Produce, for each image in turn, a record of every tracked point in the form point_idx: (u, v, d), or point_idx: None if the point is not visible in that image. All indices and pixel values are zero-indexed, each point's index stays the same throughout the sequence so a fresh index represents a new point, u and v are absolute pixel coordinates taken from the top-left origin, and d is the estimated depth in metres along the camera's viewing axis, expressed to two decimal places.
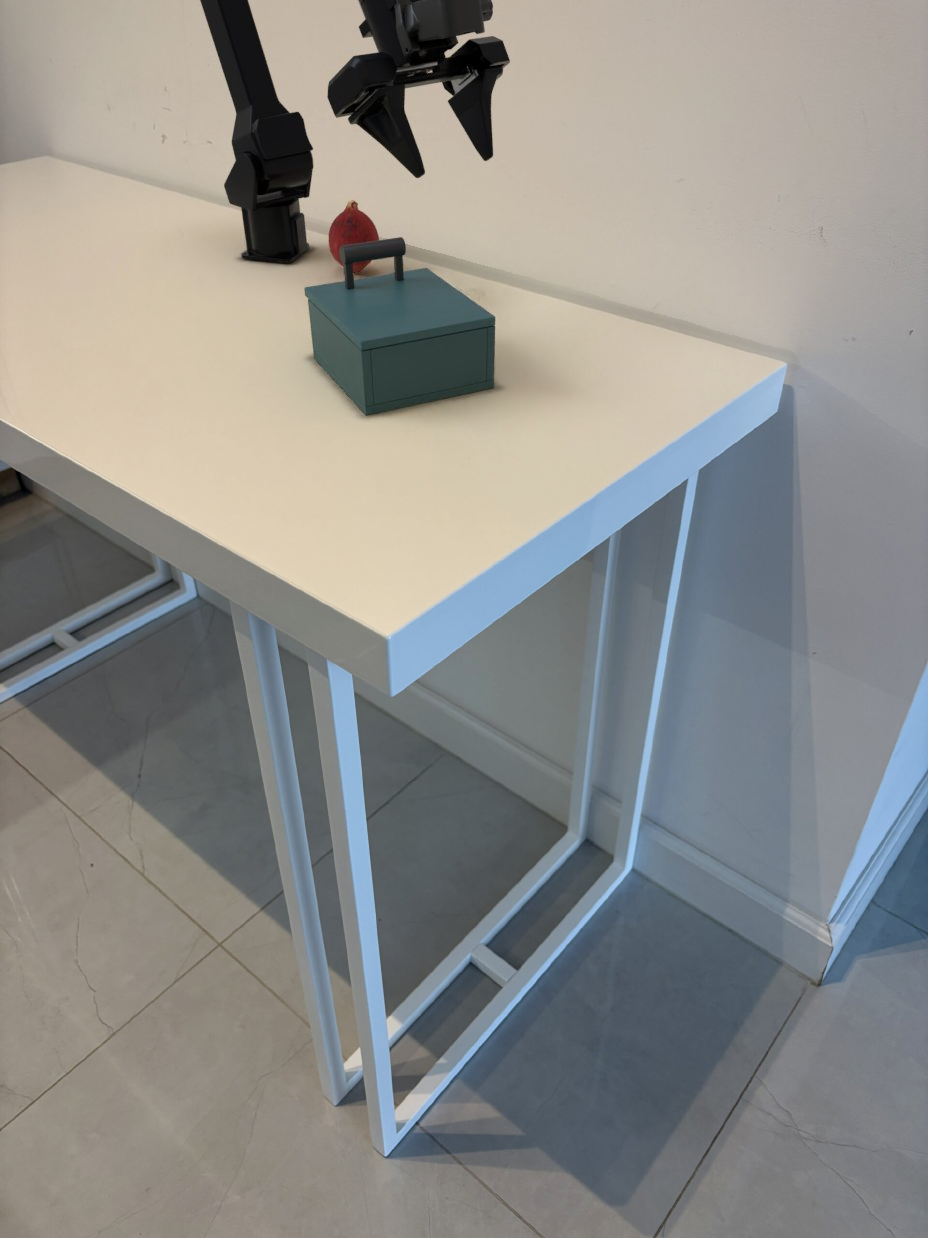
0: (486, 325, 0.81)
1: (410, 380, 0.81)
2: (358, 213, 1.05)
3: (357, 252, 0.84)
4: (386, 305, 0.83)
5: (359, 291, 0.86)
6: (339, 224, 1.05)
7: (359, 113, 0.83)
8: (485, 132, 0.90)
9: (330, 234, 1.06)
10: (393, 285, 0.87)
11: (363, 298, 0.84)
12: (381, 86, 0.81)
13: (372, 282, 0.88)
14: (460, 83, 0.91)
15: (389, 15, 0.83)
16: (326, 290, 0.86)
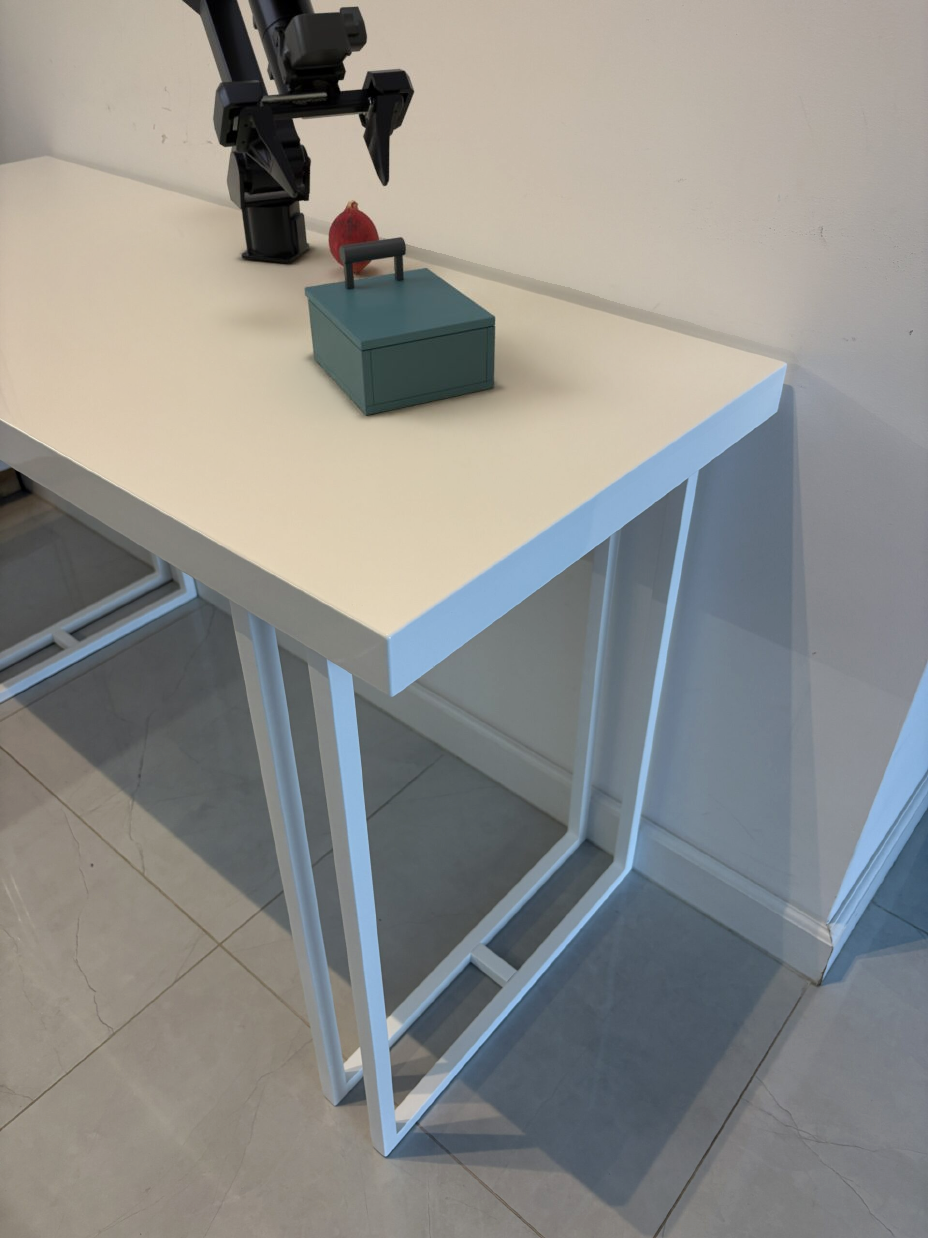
0: (486, 325, 0.81)
1: (410, 380, 0.81)
2: (358, 213, 1.05)
3: (357, 252, 0.84)
4: (386, 305, 0.83)
5: (359, 291, 0.86)
6: (340, 224, 1.05)
7: (237, 138, 0.87)
8: (380, 157, 0.89)
9: (330, 234, 1.06)
10: (393, 285, 0.87)
11: (363, 298, 0.84)
12: None
13: (372, 282, 0.88)
14: (368, 116, 0.92)
15: (276, 51, 0.87)
16: (326, 290, 0.86)
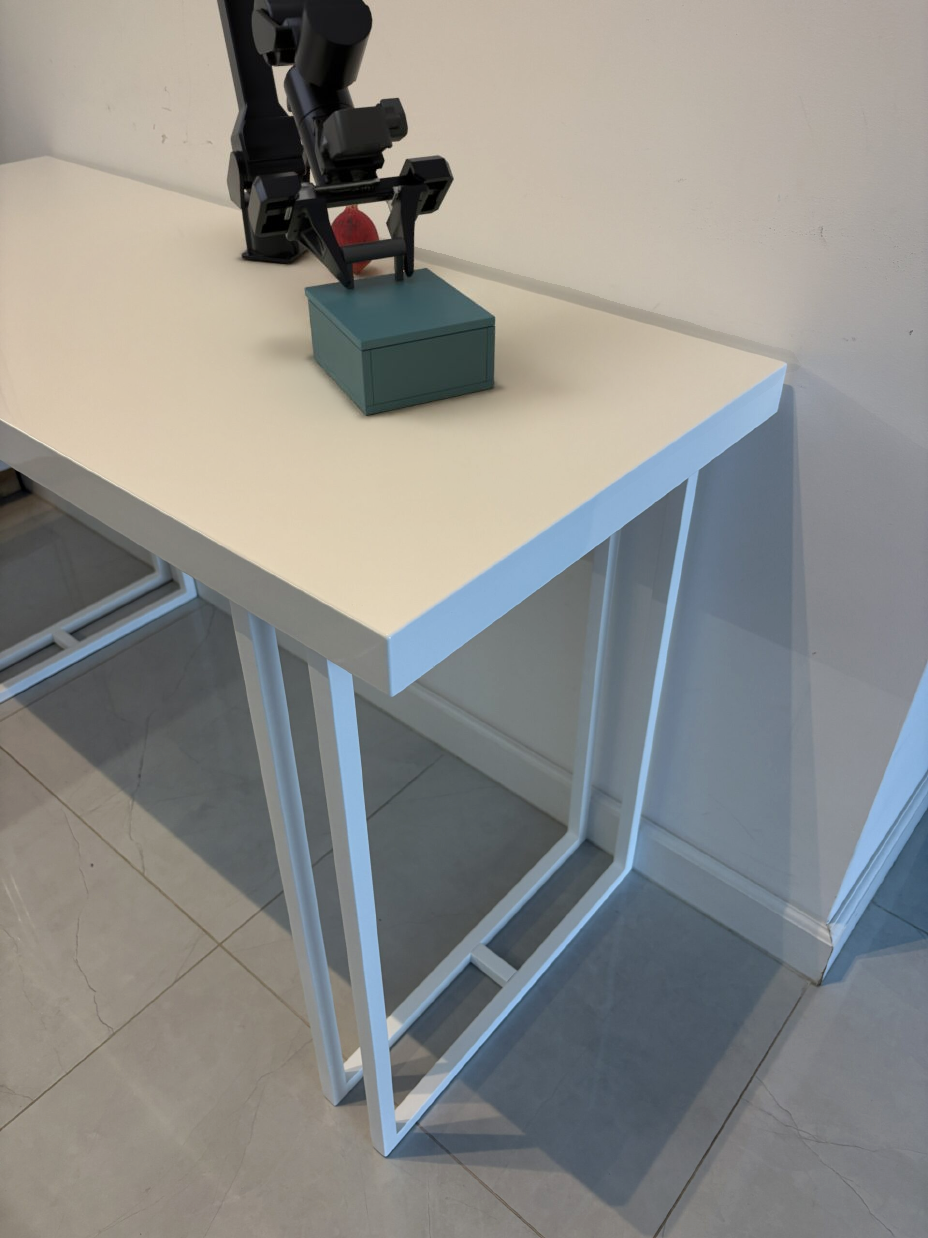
0: (486, 325, 0.81)
1: (410, 380, 0.81)
2: (358, 213, 1.05)
3: (357, 252, 0.84)
4: (386, 305, 0.83)
5: (359, 291, 0.86)
6: (340, 224, 1.05)
7: (289, 228, 0.85)
8: None
9: None
10: (393, 285, 0.87)
11: (363, 298, 0.84)
12: None
13: (372, 282, 0.88)
14: (391, 204, 0.89)
15: (313, 140, 0.85)
16: (326, 290, 0.86)
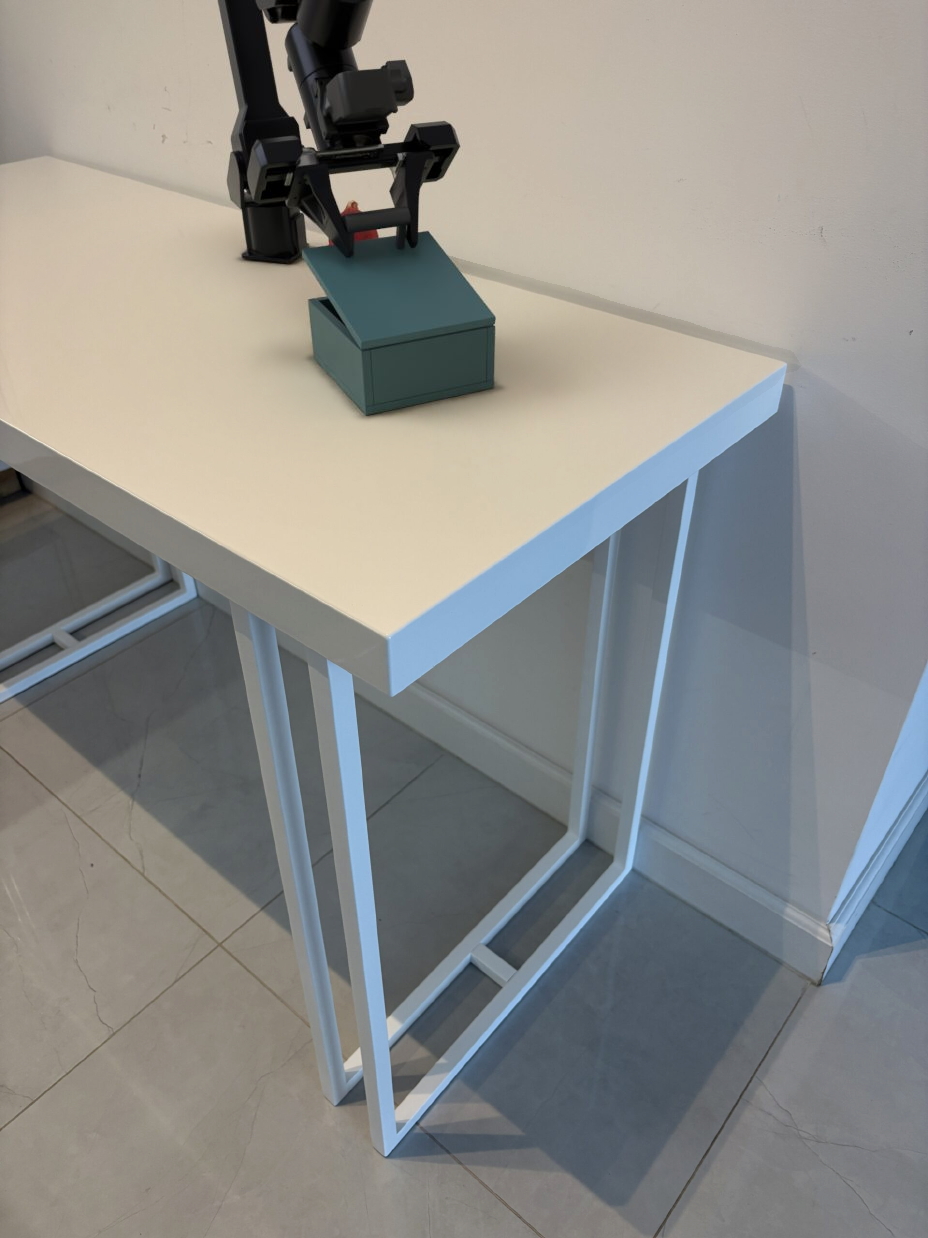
0: (486, 325, 0.81)
1: (410, 380, 0.81)
2: None
3: (360, 223, 0.82)
4: (386, 288, 0.82)
5: (359, 261, 0.84)
6: None
7: (289, 195, 0.82)
8: None
9: None
10: (394, 256, 0.85)
11: (363, 274, 0.83)
12: None
13: (372, 249, 0.85)
14: (395, 171, 0.86)
15: (315, 102, 0.82)
16: (324, 256, 0.84)
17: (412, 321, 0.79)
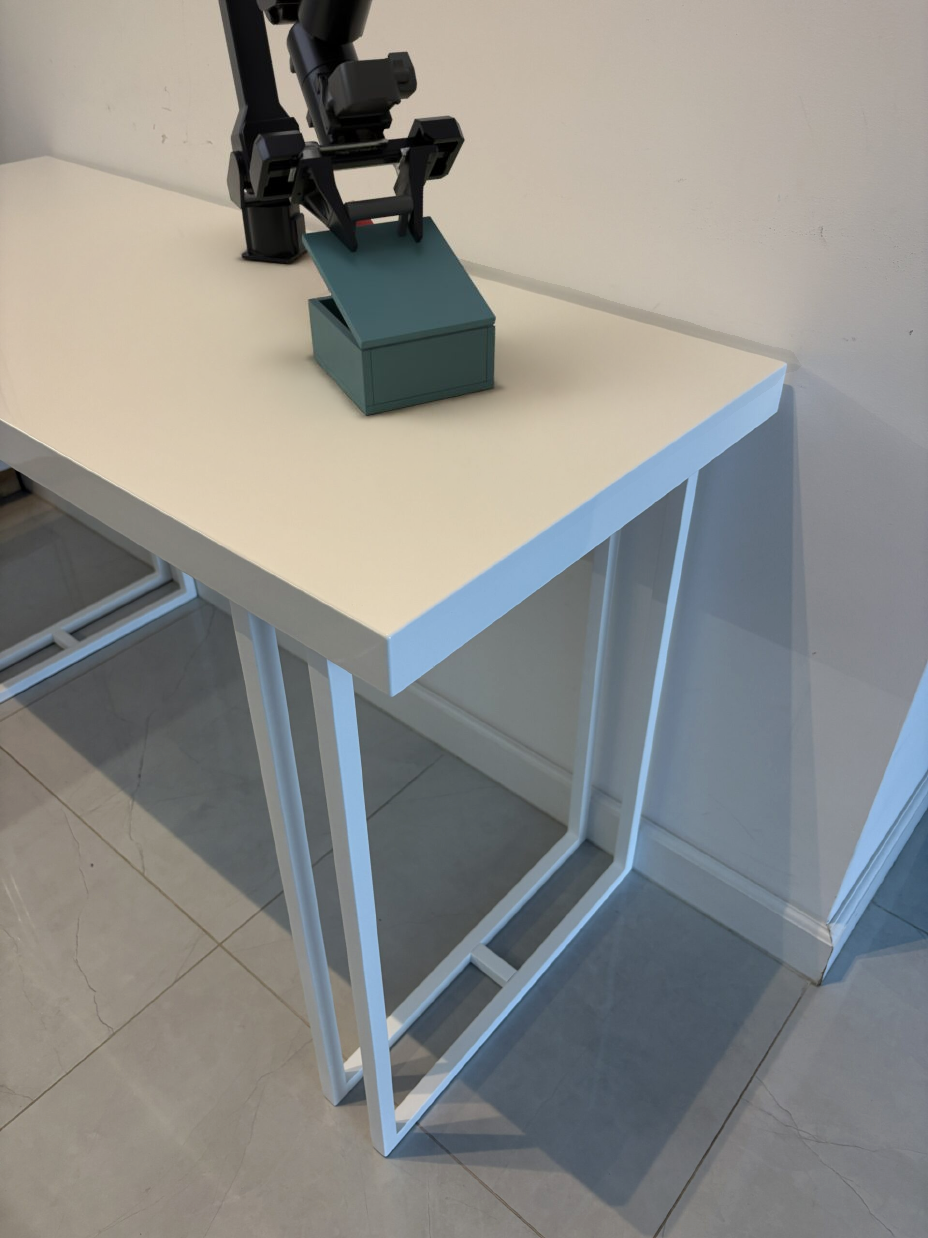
0: (486, 324, 0.81)
1: (410, 380, 0.81)
2: None
3: (363, 212, 0.81)
4: (387, 281, 0.81)
5: (360, 250, 0.83)
6: None
7: (293, 190, 0.81)
8: (413, 212, 0.83)
9: None
10: (395, 244, 0.84)
11: (363, 265, 0.82)
12: None
13: (373, 235, 0.84)
14: (399, 167, 0.85)
15: (318, 98, 0.81)
16: (325, 242, 0.83)
17: (412, 320, 0.79)
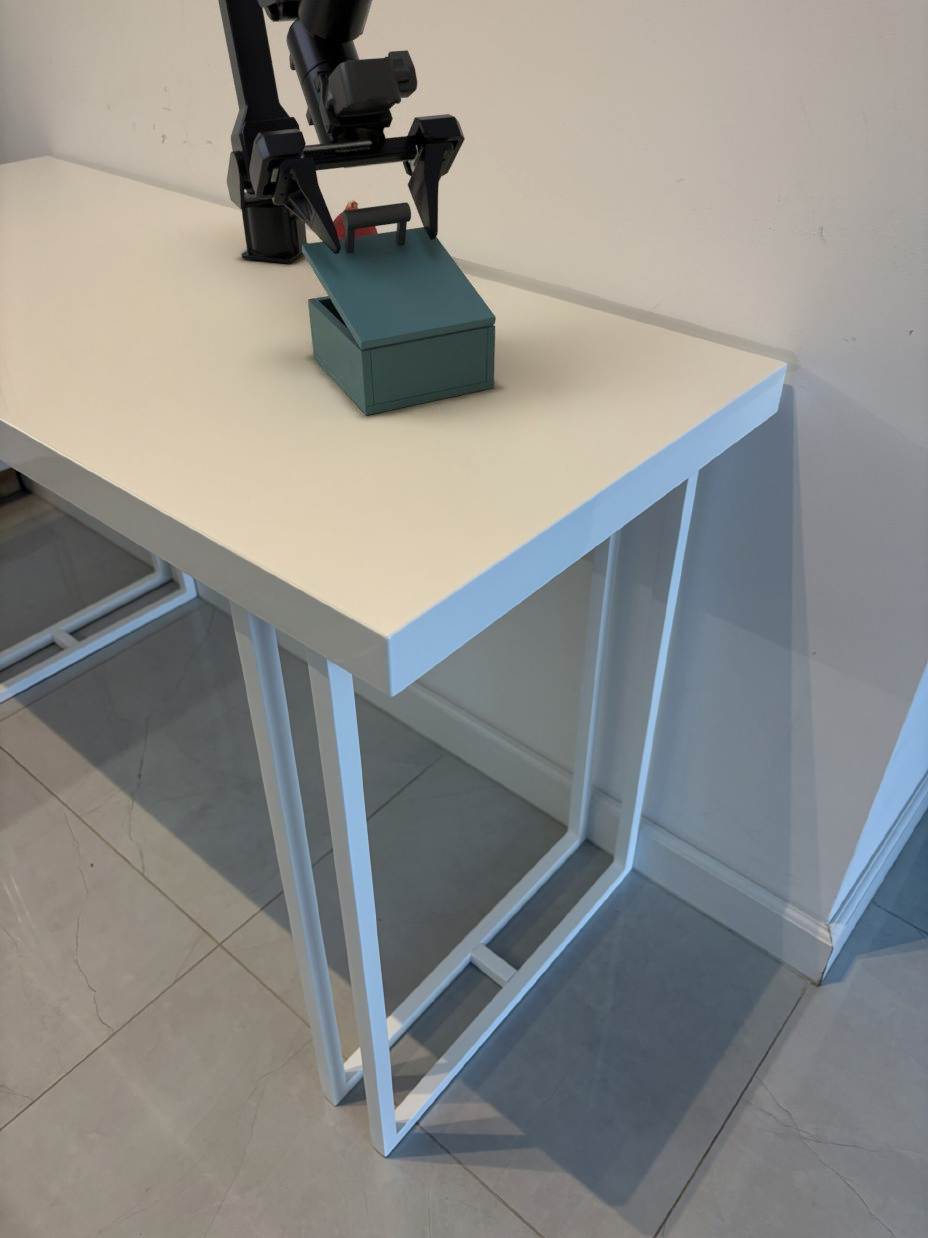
0: (486, 325, 0.81)
1: (410, 380, 0.81)
2: None
3: (361, 220, 0.81)
4: (386, 285, 0.82)
5: (359, 258, 0.84)
6: (340, 224, 1.05)
7: (275, 191, 0.81)
8: (428, 209, 0.83)
9: None
10: (394, 252, 0.85)
11: (363, 271, 0.82)
12: None
13: (373, 245, 0.85)
14: (414, 164, 0.85)
15: (318, 96, 0.81)
16: (324, 252, 0.84)
17: (412, 321, 0.79)
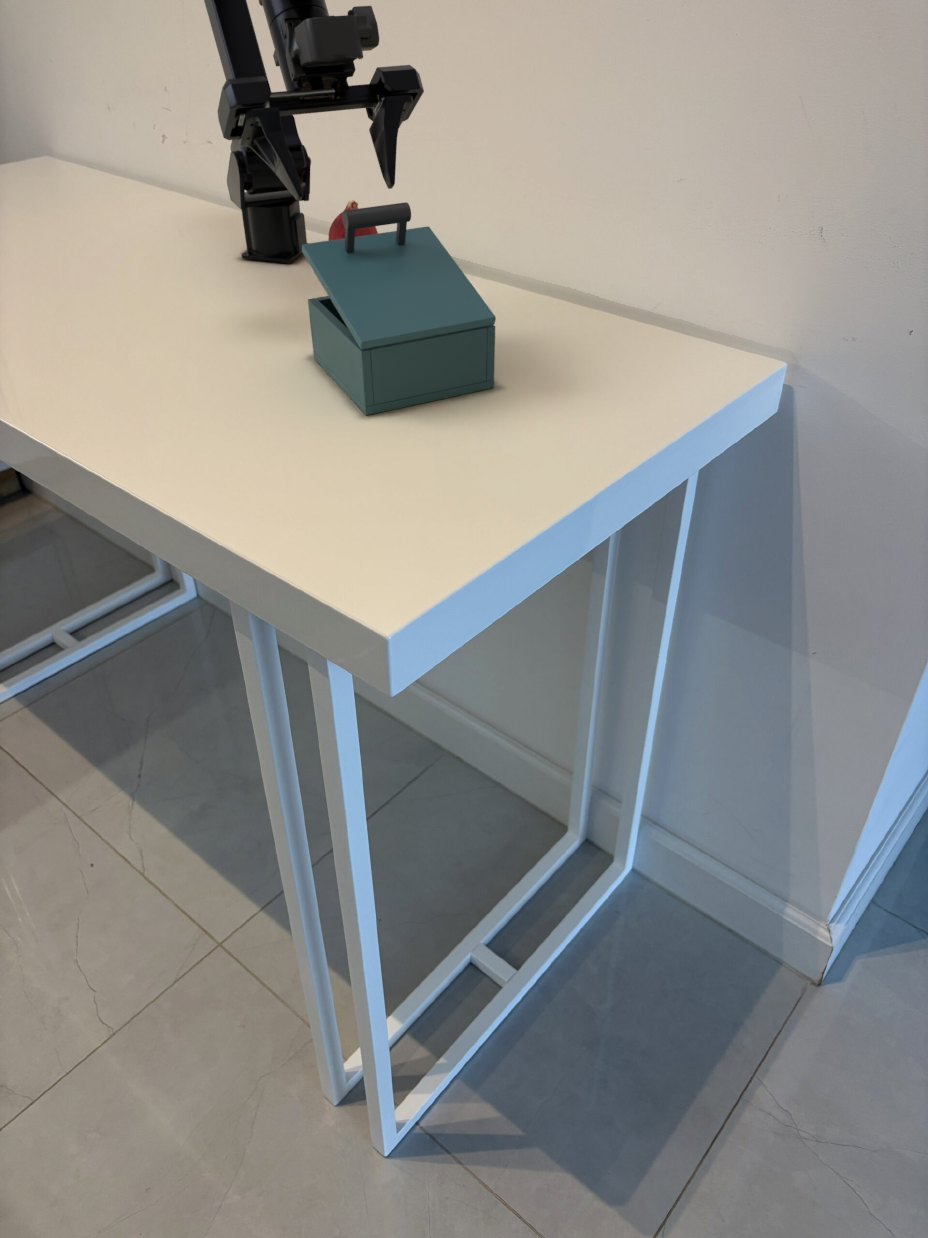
0: (486, 325, 0.81)
1: (410, 380, 0.81)
2: None
3: (361, 220, 0.81)
4: (386, 285, 0.82)
5: (359, 258, 0.84)
6: (340, 224, 1.05)
7: (242, 135, 0.85)
8: (387, 159, 0.89)
9: (330, 234, 1.06)
10: (394, 252, 0.85)
11: (363, 271, 0.82)
12: (255, 109, 0.83)
13: (373, 245, 0.85)
14: (375, 111, 0.90)
15: (284, 42, 0.85)
16: (324, 252, 0.84)
17: (412, 321, 0.79)
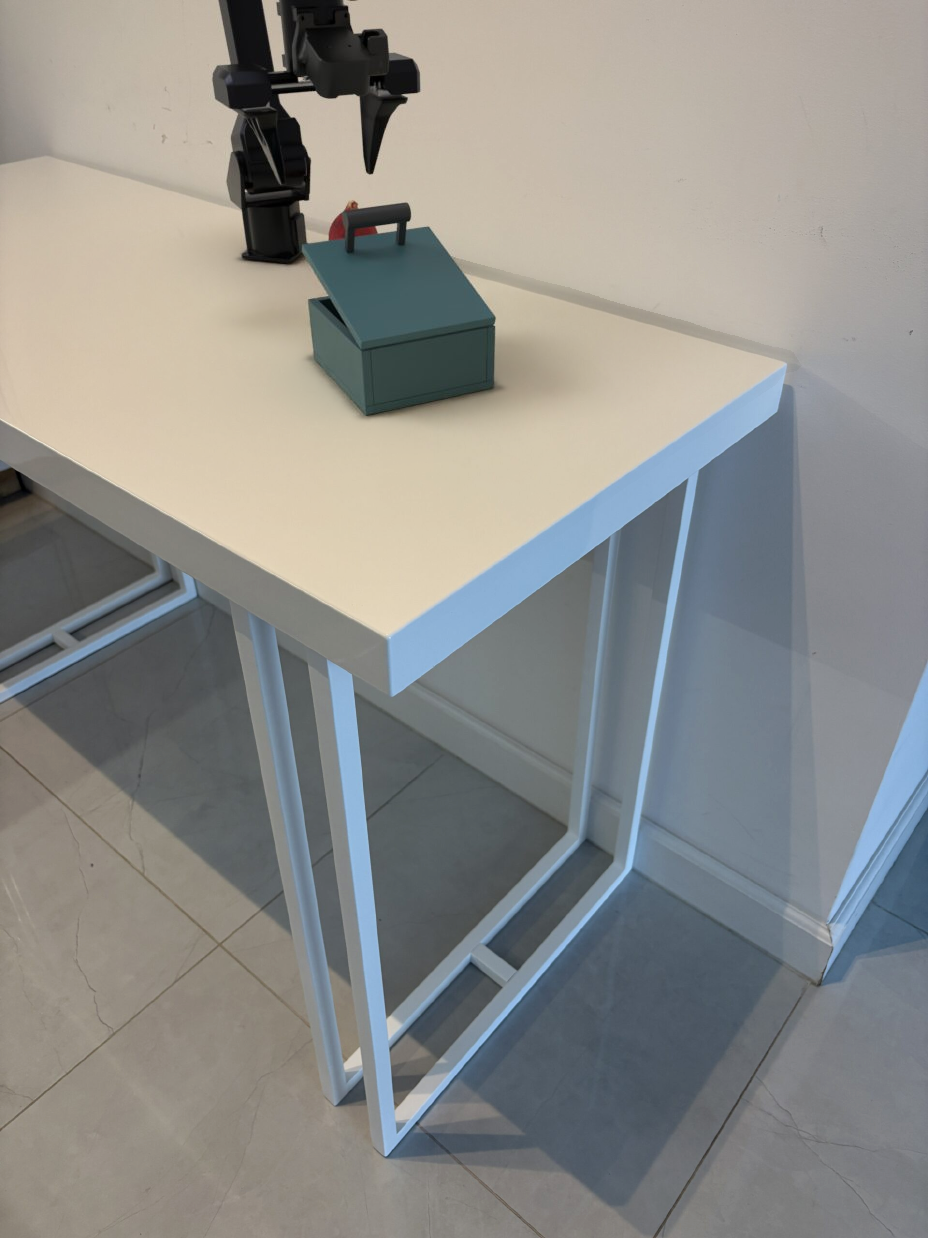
0: (486, 325, 0.81)
1: (410, 380, 0.81)
2: None
3: (361, 220, 0.81)
4: (386, 285, 0.82)
5: (359, 258, 0.84)
6: (340, 224, 1.05)
7: (235, 110, 0.86)
8: (370, 151, 0.92)
9: (330, 234, 1.06)
10: (394, 252, 0.85)
11: (363, 271, 0.82)
12: None
13: (373, 245, 0.85)
14: (369, 87, 0.91)
15: (292, 25, 0.83)
16: (324, 252, 0.84)
17: (412, 321, 0.79)
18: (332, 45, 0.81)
